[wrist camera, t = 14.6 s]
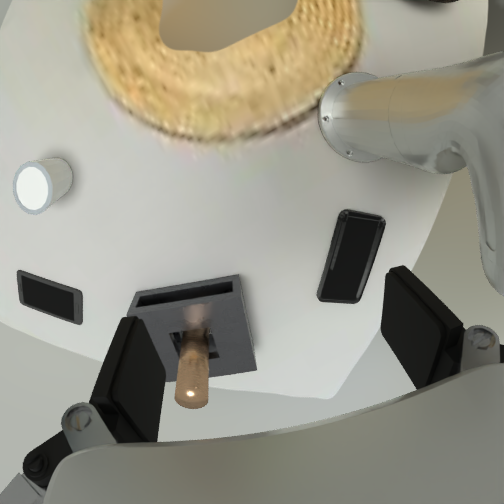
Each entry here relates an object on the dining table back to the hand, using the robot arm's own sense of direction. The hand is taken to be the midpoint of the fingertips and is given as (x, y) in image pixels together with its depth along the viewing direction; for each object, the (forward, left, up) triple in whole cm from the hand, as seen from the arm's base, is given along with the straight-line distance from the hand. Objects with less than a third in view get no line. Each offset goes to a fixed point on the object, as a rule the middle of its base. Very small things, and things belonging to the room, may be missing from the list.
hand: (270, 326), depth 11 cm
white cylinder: (+25, -6, -31) cm, 40 cm away
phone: (-15, +15, -31) cm, 37 cm away
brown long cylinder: (+10, +21, -30) cm, 38 cm away
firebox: (+10, +21, -30) cm, 38 cm away
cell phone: (+35, +12, -31) cm, 48 cm away
